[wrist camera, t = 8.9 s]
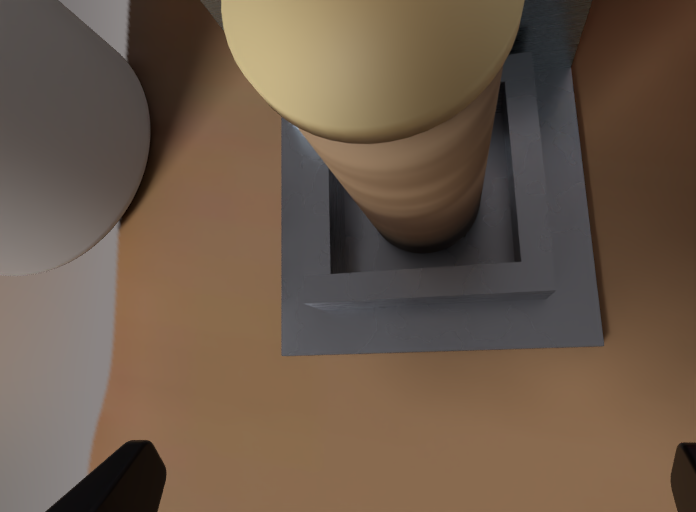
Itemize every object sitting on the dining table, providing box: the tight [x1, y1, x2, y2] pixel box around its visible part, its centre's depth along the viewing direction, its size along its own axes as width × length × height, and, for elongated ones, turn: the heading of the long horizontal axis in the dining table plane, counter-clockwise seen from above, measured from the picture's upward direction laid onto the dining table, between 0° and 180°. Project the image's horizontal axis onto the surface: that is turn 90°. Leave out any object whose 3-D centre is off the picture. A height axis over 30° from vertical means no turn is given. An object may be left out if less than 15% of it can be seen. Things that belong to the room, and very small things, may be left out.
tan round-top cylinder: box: [221, 0, 525, 254], centre depth 15 cm, size 5×5×14 cm
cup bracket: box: [201, 0, 604, 356], centre depth 18 cm, size 12×12×9 cm
